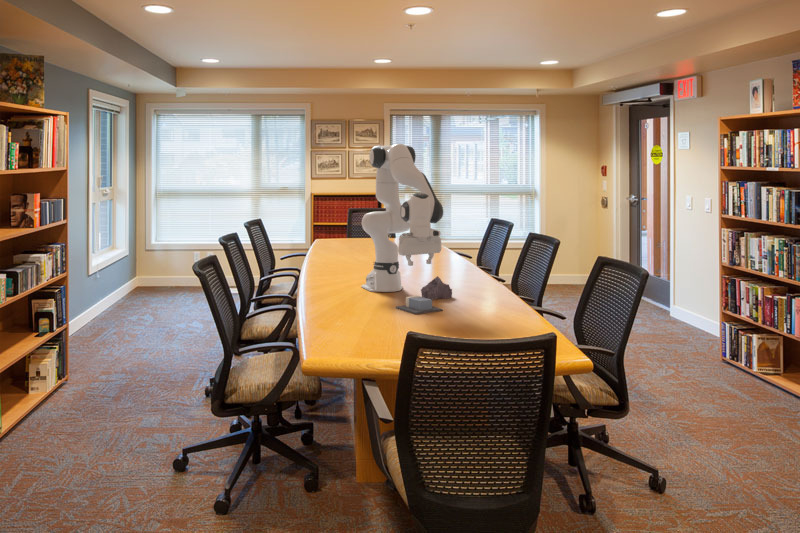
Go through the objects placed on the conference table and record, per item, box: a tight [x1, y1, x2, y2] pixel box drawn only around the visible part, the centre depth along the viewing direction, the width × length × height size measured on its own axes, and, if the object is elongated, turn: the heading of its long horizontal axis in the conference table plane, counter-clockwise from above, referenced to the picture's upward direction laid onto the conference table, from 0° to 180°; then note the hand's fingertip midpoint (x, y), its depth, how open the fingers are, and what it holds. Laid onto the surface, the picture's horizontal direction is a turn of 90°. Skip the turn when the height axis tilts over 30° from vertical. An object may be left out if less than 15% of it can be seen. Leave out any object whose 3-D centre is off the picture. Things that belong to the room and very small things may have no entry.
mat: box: [395, 304, 443, 315], centre depth 292 cm, size 15×14×1 cm
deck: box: [405, 295, 433, 311], centre depth 292 cm, size 11×6×4 cm, turn 34°
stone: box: [420, 275, 453, 301], centre depth 317 cm, size 10×6×15 cm
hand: (419, 264), depth 290 cm, fingers open, 8 cm apart
